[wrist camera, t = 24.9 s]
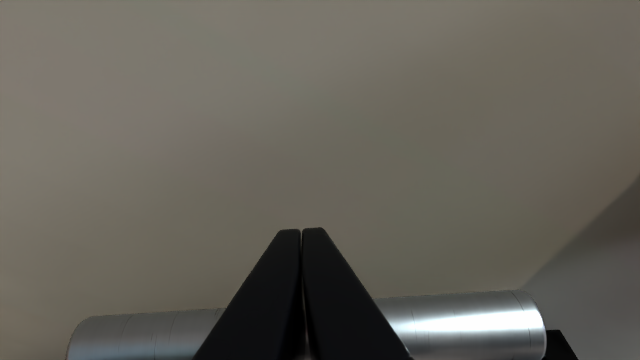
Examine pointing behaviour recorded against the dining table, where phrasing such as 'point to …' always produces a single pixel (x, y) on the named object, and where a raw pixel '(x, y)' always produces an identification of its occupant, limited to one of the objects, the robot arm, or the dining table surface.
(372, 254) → the dining table surface
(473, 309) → the tray
